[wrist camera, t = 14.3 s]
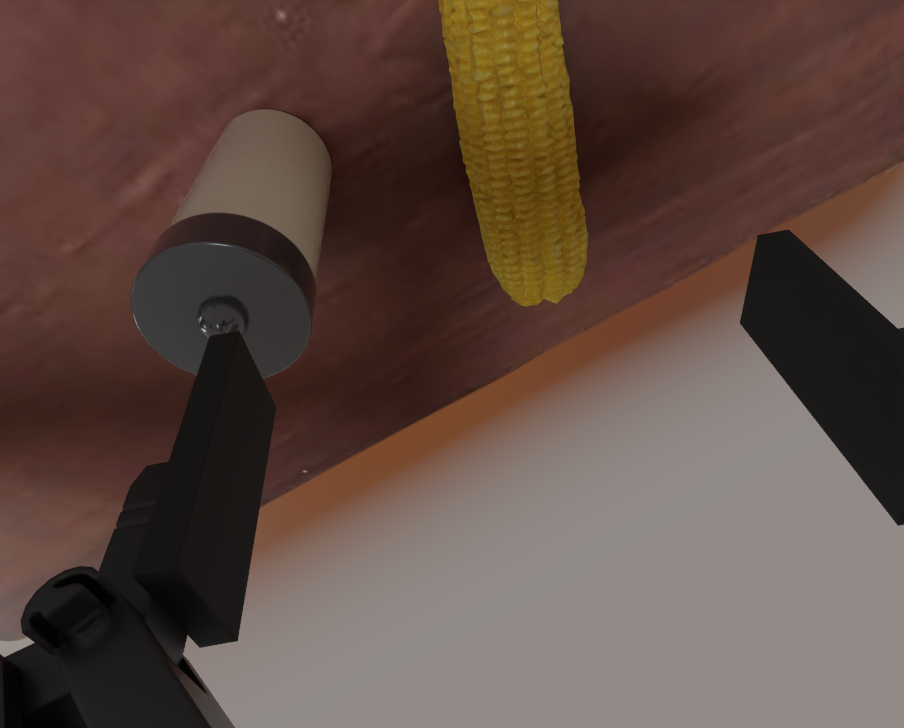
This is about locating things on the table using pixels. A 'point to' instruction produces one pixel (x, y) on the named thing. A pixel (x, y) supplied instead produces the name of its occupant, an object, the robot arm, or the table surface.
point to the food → (518, 142)
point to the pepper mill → (241, 247)
